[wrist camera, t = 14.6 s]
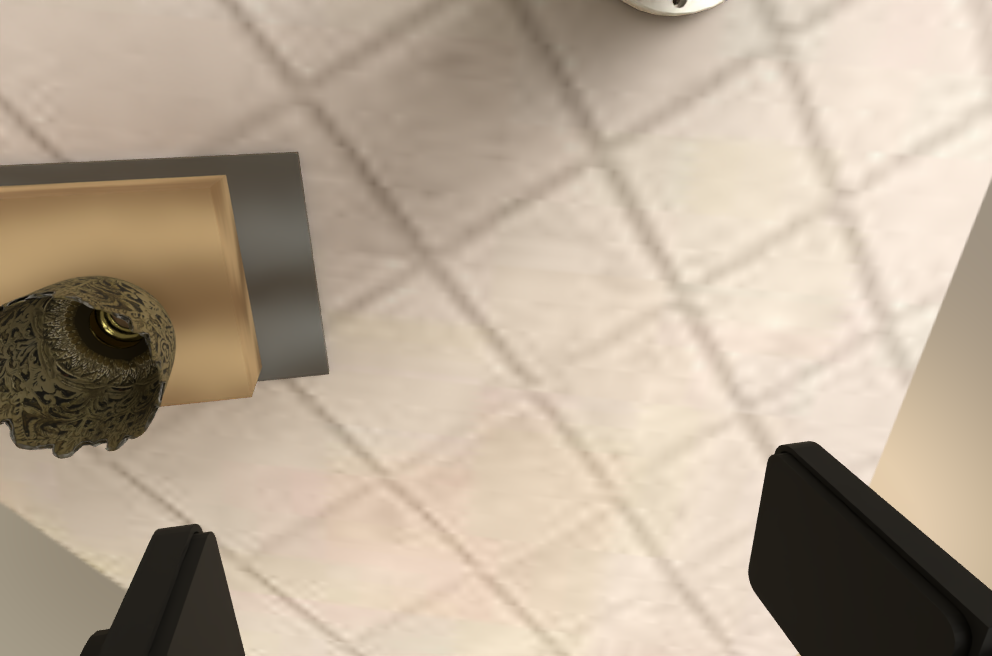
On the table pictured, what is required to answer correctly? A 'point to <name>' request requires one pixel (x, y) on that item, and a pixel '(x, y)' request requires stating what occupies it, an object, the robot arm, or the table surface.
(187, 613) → the robot arm
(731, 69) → the table surface
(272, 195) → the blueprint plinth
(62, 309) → the cup
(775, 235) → the table surface
